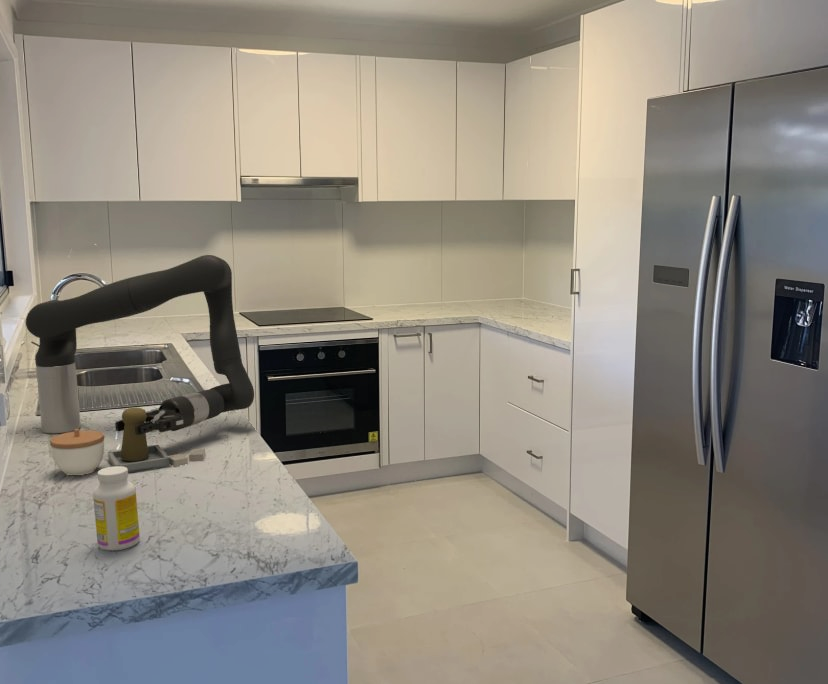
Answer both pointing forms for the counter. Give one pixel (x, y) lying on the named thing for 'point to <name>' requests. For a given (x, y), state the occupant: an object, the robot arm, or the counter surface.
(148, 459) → the parts tray
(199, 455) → the beige rectangular block
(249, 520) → the counter surface
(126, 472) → the supplement bottle
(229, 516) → the counter surface
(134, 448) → the pepper mill
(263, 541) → the counter surface
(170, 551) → the counter surface
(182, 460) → the tan block
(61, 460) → the lidded jar
